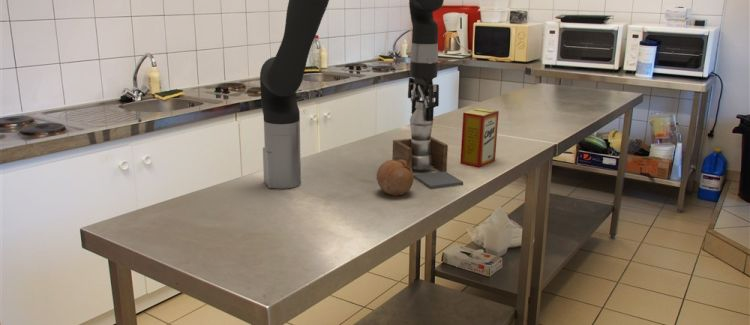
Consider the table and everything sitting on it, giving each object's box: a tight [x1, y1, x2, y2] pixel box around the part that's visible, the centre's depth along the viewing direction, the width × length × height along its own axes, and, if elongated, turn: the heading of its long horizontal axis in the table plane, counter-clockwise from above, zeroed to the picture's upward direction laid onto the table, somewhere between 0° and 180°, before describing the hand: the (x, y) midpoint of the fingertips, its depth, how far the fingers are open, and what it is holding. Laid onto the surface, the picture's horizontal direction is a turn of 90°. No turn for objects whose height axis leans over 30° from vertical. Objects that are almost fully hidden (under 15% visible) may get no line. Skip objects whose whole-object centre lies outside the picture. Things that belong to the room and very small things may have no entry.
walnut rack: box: [391, 136, 449, 172], centre depth 178 cm, size 12×10×8 cm
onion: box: [376, 159, 415, 197], centre depth 158 cm, size 10×9×10 cm
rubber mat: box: [414, 170, 464, 189], centre depth 169 cm, size 10×10×1 cm
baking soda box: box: [459, 107, 500, 169], centre depth 185 cm, size 10×6×16 cm
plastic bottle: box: [409, 99, 434, 172], centre depth 176 cm, size 6×7×20 cm
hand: (422, 117), depth 174 cm, fingers open, 8 cm apart
